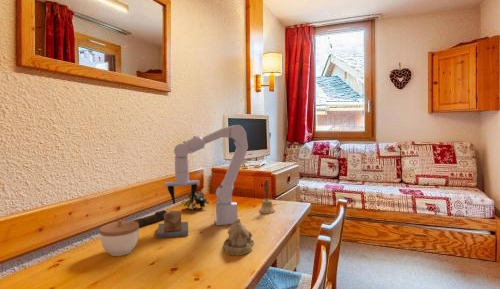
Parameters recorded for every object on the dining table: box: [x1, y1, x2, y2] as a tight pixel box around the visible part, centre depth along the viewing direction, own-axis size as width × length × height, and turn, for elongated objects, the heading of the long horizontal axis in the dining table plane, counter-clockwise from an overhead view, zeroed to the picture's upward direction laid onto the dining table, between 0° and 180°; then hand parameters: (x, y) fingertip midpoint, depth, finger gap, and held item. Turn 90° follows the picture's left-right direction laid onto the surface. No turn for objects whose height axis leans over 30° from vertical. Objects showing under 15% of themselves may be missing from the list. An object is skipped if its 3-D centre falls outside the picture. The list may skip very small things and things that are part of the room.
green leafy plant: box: [181, 191, 210, 212], centre depth 159 cm, size 11×11×12 cm
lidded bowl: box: [99, 219, 140, 257], centre depth 105 cm, size 13×13×11 cm
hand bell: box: [258, 179, 276, 215], centre depth 152 cm, size 8×8×16 cm
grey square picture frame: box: [155, 221, 189, 240], centre depth 124 cm, size 12×12×2 cm
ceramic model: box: [222, 218, 255, 256], centre depth 107 cm, size 14×11×10 cm
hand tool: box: [132, 209, 167, 228], centre depth 136 cm, size 19×4×5 cm, turn 139°
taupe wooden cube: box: [163, 210, 182, 229], centre depth 124 cm, size 5×5×6 cm
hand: (183, 202), depth 131 cm, fingers open, 7 cm apart
